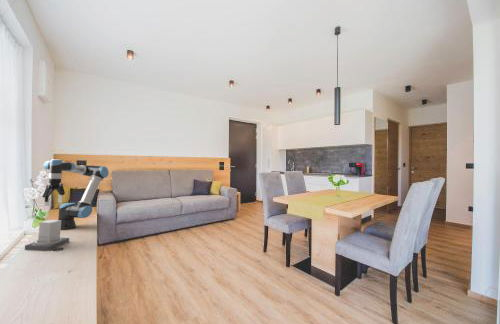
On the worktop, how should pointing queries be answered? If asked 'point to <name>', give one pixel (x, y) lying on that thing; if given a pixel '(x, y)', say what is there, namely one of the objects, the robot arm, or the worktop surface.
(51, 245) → the kitchen scale
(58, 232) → the supplement box
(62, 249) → the lens cap
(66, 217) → the robot arm
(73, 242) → the worktop surface
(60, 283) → the worktop surface
